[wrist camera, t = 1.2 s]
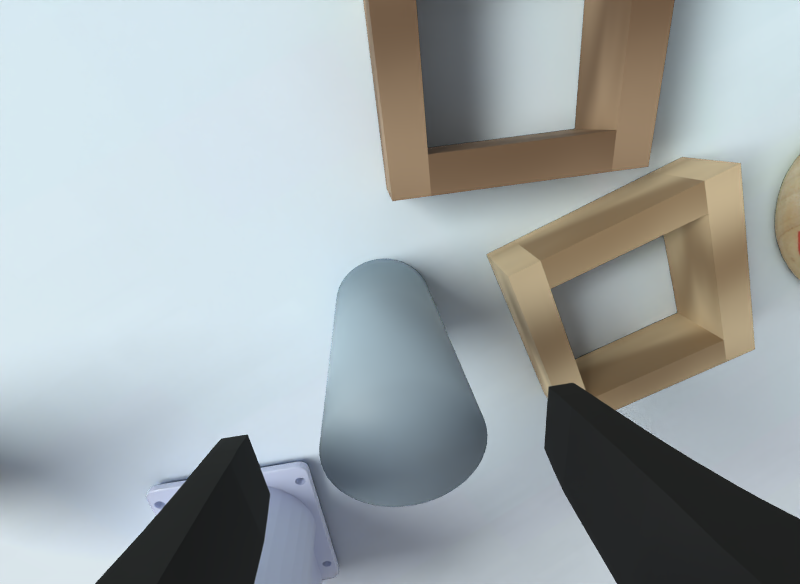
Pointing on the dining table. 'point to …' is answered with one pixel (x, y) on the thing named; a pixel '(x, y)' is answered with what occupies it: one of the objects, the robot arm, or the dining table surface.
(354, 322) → the thick gray cylindrical peg
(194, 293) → the dining table surface
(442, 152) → the wooden square ring
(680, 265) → the light wooden square frame
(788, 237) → the ladybug figurine
